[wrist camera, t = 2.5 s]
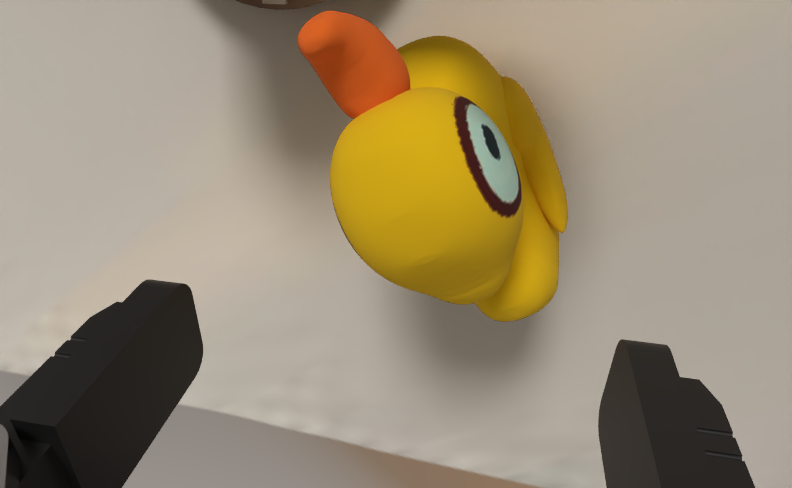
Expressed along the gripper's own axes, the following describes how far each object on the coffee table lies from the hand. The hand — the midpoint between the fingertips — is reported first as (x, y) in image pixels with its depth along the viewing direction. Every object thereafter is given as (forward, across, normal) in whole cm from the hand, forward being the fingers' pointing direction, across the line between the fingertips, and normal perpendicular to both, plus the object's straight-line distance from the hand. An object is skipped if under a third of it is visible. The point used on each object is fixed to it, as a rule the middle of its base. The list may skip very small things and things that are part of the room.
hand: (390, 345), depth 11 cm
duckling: (+13, 0, 0) cm, 13 cm away
